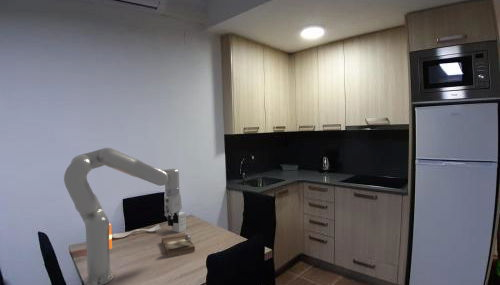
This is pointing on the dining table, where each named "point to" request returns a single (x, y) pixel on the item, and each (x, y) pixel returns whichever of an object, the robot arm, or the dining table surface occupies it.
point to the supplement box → (180, 223)
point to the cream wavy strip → (121, 235)
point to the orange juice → (110, 237)
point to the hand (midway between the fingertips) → (173, 224)
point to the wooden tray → (180, 249)
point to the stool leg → (178, 243)
